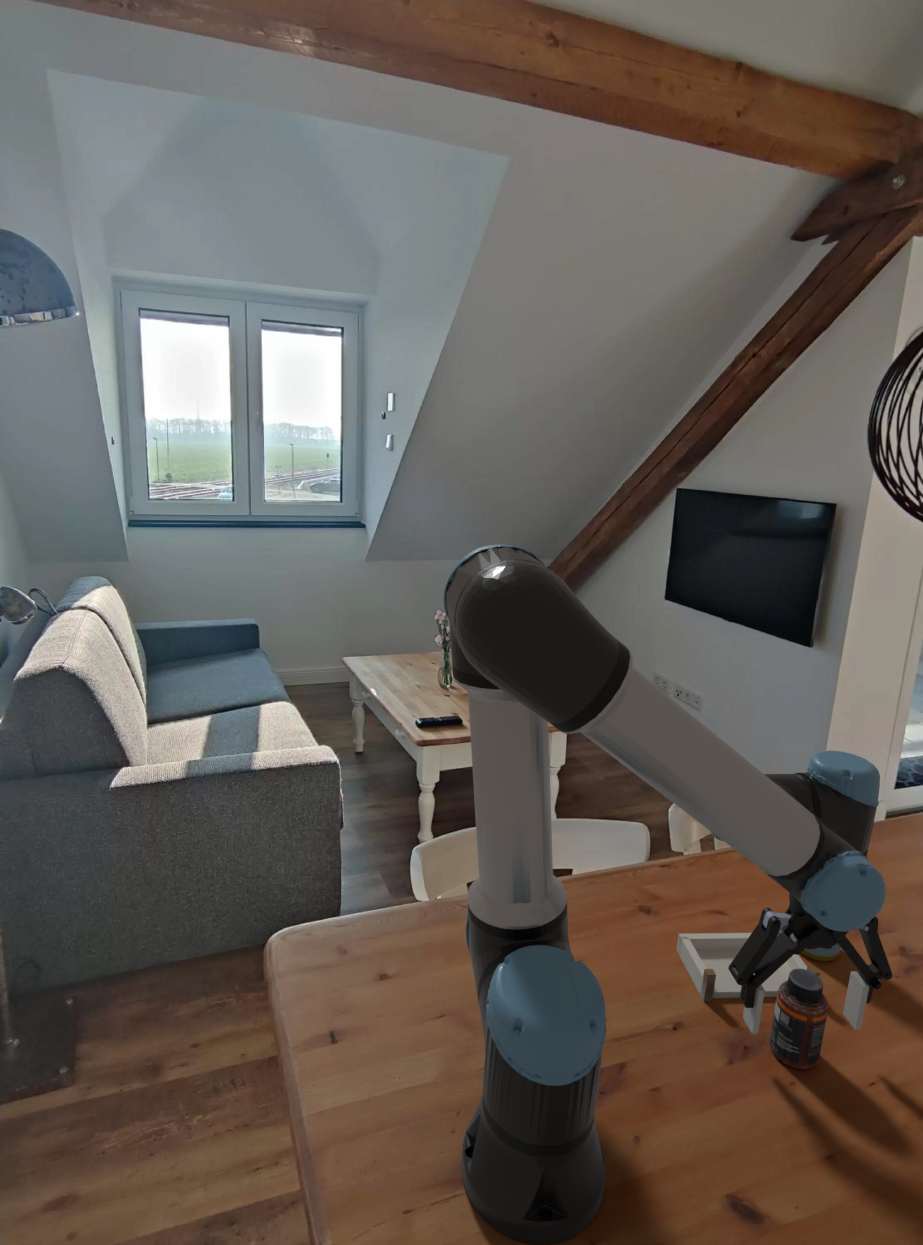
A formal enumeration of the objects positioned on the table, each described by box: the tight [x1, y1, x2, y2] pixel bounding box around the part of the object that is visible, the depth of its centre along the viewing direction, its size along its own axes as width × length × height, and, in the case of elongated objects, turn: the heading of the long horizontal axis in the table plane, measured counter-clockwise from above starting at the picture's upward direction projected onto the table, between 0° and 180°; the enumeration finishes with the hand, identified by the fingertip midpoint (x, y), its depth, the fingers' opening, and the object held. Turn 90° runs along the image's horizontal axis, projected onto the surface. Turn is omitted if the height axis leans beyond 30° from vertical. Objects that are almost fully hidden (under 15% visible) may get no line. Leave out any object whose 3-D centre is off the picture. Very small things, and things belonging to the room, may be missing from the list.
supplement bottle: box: [769, 969, 829, 1070], centre depth 94 cm, size 6×6×11 cm
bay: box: [676, 932, 821, 1003], centre depth 109 cm, size 11×16×4 cm, turn 95°
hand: (801, 1024), depth 94 cm, fingers open, 13 cm apart
